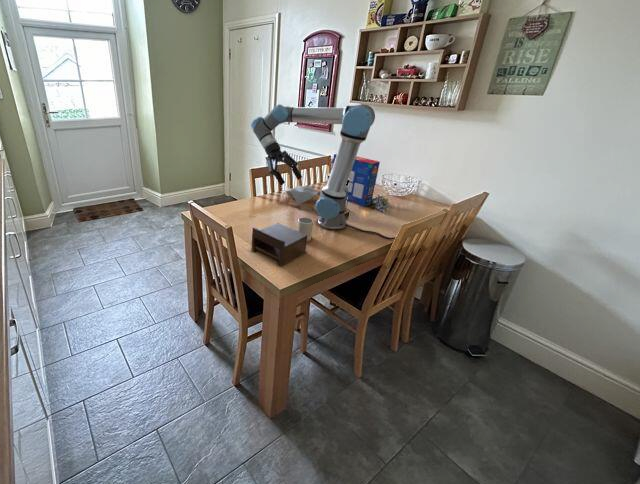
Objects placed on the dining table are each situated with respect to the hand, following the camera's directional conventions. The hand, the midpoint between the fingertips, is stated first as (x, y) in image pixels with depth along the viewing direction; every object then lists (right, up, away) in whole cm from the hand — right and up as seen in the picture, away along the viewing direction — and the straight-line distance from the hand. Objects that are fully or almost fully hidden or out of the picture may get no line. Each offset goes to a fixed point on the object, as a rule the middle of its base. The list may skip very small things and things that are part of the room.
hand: (291, 181), depth 162 cm
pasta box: (+48, -5, +57) cm, 75 cm away
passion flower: (+60, -13, +41) cm, 74 cm away
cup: (+7, -28, +5) cm, 30 cm away
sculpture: (+14, -7, +53) cm, 55 cm away
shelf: (-8, -34, -8) cm, 36 cm away
